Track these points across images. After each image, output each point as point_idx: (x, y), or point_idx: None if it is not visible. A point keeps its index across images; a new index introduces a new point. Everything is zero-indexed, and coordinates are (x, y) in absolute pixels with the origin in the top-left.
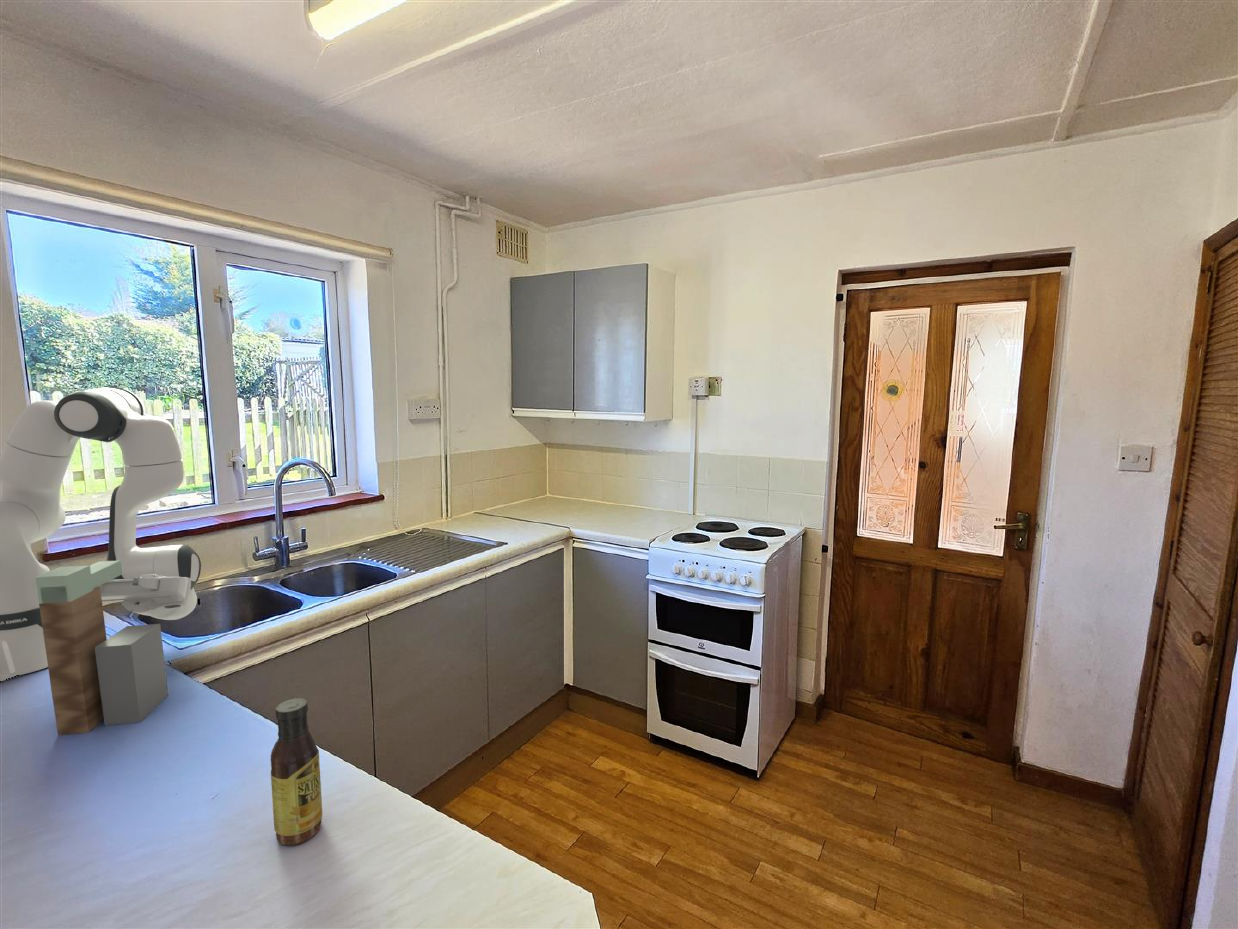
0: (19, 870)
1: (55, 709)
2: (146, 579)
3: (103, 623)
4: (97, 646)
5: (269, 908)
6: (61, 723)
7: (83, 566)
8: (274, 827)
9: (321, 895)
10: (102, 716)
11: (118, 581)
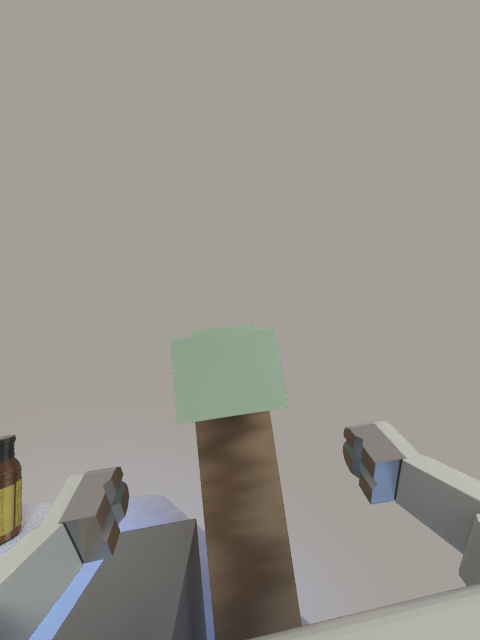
0: (174, 509)
1: None
2: (38, 534)
3: (205, 521)
4: (192, 521)
5: (44, 505)
6: None
7: (201, 330)
8: (21, 518)
9: None
10: None
11: (335, 618)
